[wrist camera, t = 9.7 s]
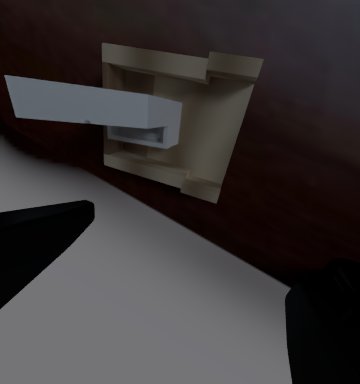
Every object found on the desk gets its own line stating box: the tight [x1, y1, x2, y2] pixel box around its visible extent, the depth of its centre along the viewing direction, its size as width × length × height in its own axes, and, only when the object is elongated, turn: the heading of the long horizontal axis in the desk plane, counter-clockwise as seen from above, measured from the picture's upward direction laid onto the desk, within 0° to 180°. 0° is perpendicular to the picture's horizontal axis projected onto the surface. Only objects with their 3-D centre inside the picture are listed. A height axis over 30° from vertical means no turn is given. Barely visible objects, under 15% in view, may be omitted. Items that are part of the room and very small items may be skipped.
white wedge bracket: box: [4, 75, 182, 149], centre depth 14 cm, size 4×10×9 cm, turn 84°
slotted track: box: [102, 43, 264, 203], centre depth 16 cm, size 12×11×4 cm
